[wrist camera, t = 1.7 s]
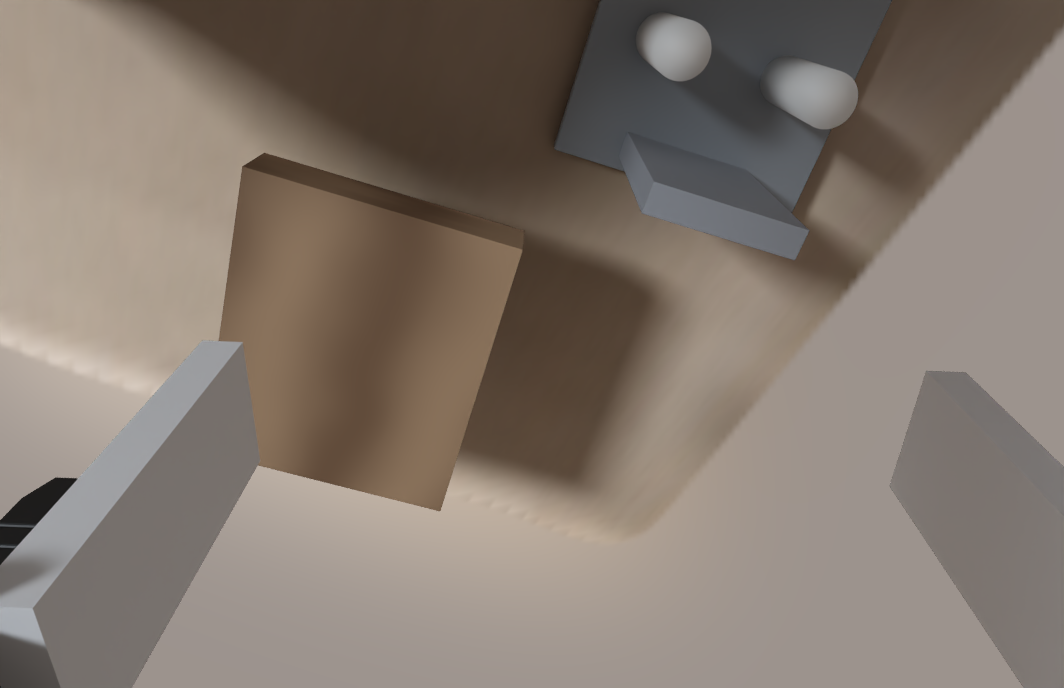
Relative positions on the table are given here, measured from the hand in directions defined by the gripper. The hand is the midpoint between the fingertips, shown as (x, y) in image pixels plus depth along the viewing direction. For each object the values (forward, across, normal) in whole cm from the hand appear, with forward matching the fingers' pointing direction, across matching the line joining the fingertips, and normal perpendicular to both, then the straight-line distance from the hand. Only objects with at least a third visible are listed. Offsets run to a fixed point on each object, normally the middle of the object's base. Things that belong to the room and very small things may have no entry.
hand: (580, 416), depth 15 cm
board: (+12, -7, -4) cm, 15 cm away
